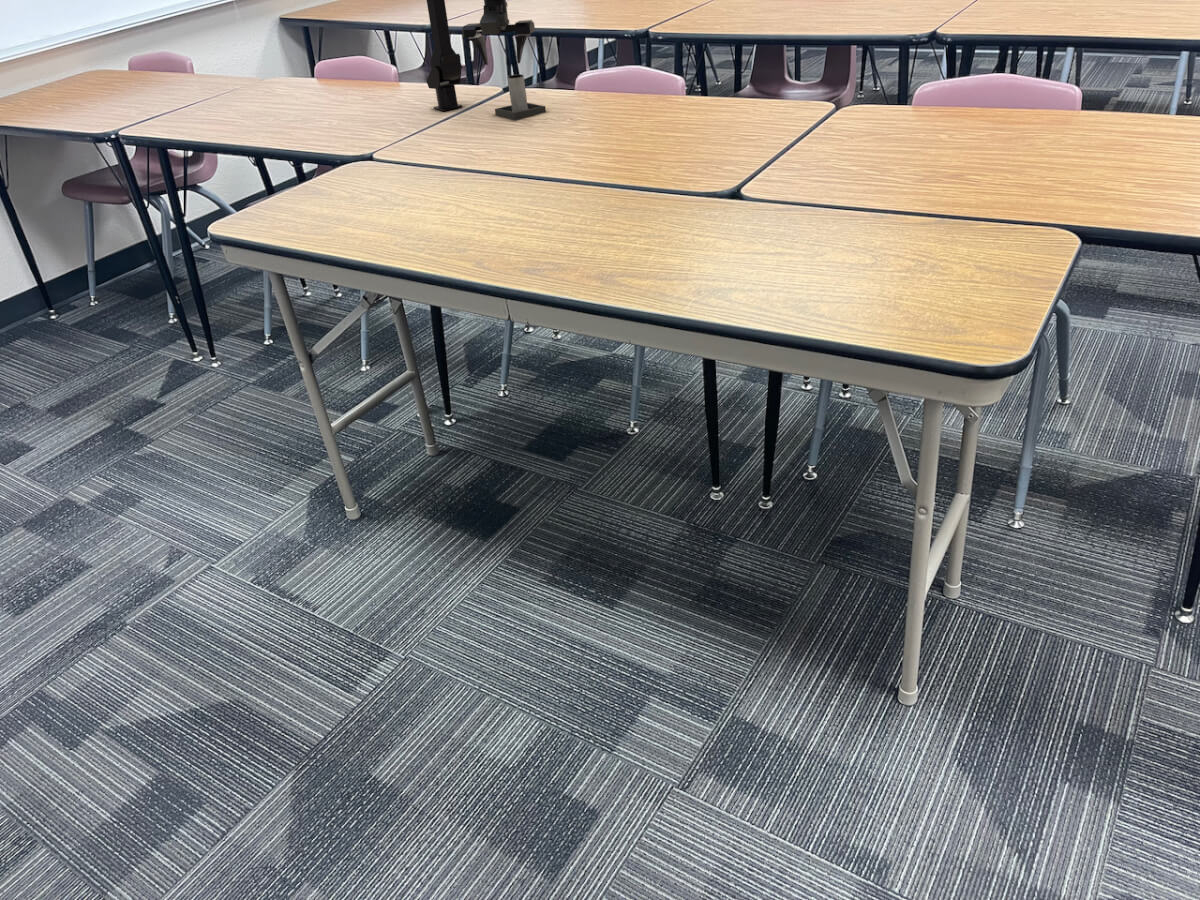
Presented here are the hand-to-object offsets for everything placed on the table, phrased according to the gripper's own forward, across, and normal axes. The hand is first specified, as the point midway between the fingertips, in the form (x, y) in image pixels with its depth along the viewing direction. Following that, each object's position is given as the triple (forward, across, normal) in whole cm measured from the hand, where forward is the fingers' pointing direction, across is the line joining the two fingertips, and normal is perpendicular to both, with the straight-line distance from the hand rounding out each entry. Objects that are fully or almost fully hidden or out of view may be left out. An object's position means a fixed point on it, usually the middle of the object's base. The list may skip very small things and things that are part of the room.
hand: (502, 64), depth 231 cm
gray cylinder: (+14, +2, +5) cm, 15 cm away
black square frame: (+14, +2, +5) cm, 15 cm away
